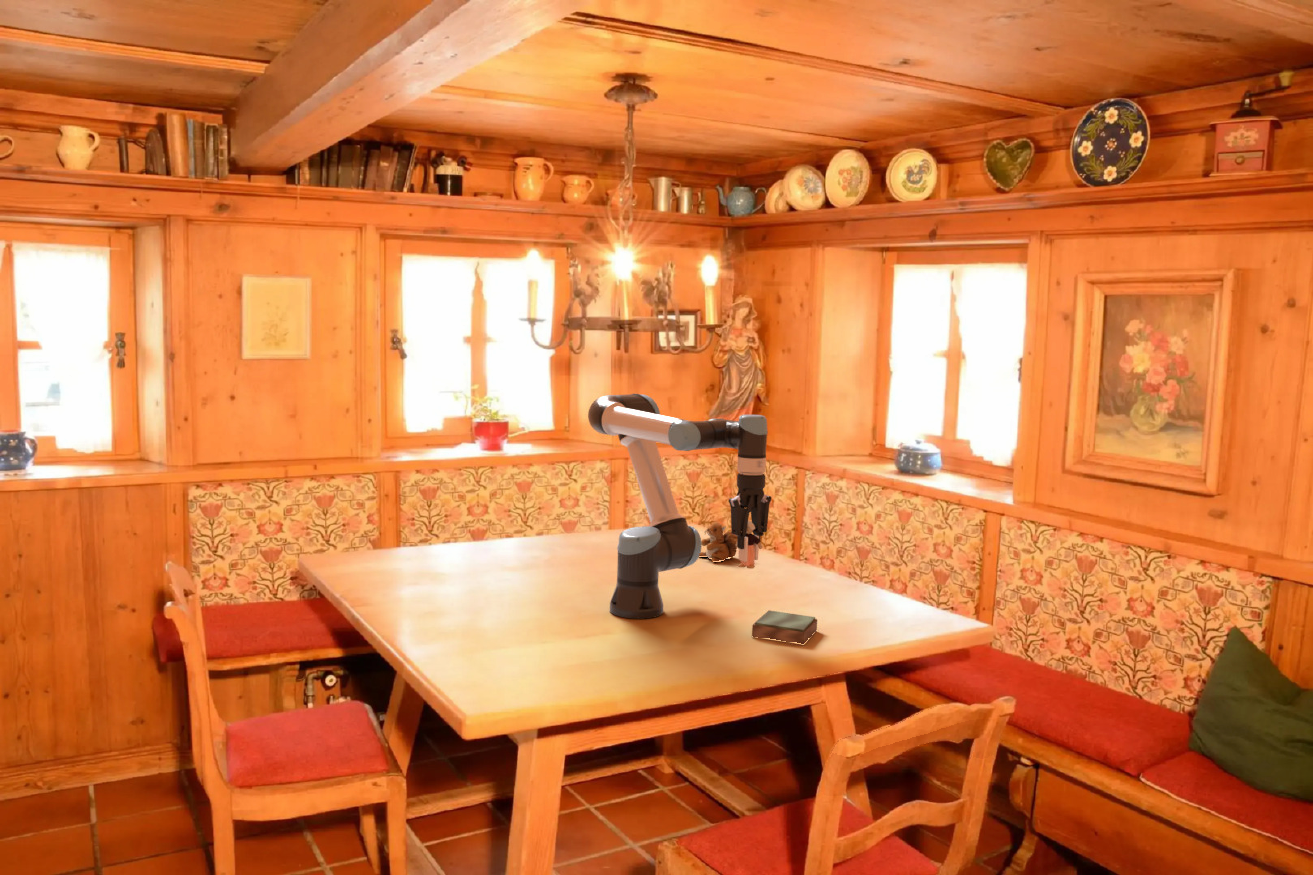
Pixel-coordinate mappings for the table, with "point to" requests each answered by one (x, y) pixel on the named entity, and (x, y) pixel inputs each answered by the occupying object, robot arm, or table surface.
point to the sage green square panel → (784, 627)
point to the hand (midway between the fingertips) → (748, 559)
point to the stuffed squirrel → (719, 543)
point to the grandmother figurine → (750, 546)
